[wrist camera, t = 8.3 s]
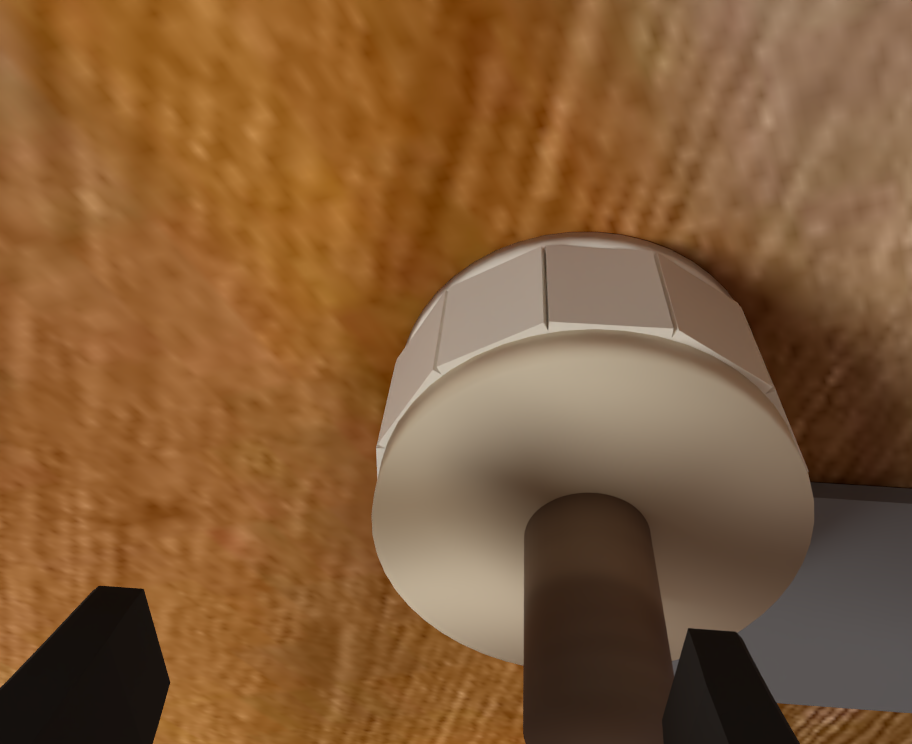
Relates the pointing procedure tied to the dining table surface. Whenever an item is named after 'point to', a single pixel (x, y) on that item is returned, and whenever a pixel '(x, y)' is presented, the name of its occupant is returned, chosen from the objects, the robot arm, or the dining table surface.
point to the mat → (844, 607)
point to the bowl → (572, 309)
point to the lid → (591, 518)
